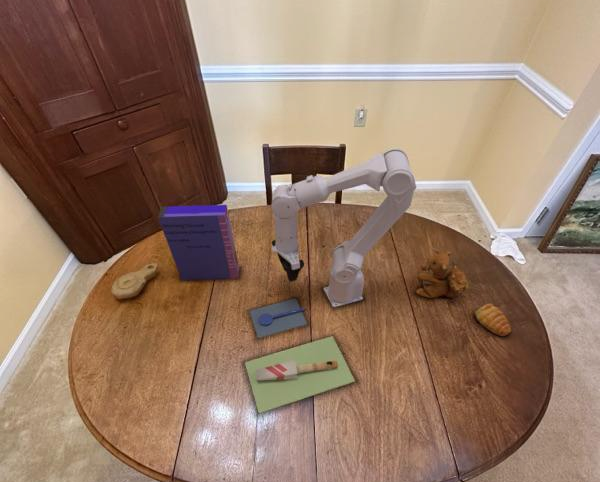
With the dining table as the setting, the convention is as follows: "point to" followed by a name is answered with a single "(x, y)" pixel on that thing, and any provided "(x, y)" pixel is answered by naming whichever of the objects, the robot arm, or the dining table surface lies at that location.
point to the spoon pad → (280, 322)
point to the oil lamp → (133, 282)
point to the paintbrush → (291, 370)
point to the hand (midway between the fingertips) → (288, 271)
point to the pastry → (493, 319)
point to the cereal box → (200, 241)
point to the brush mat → (307, 383)
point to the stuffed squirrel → (441, 278)
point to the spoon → (275, 316)
